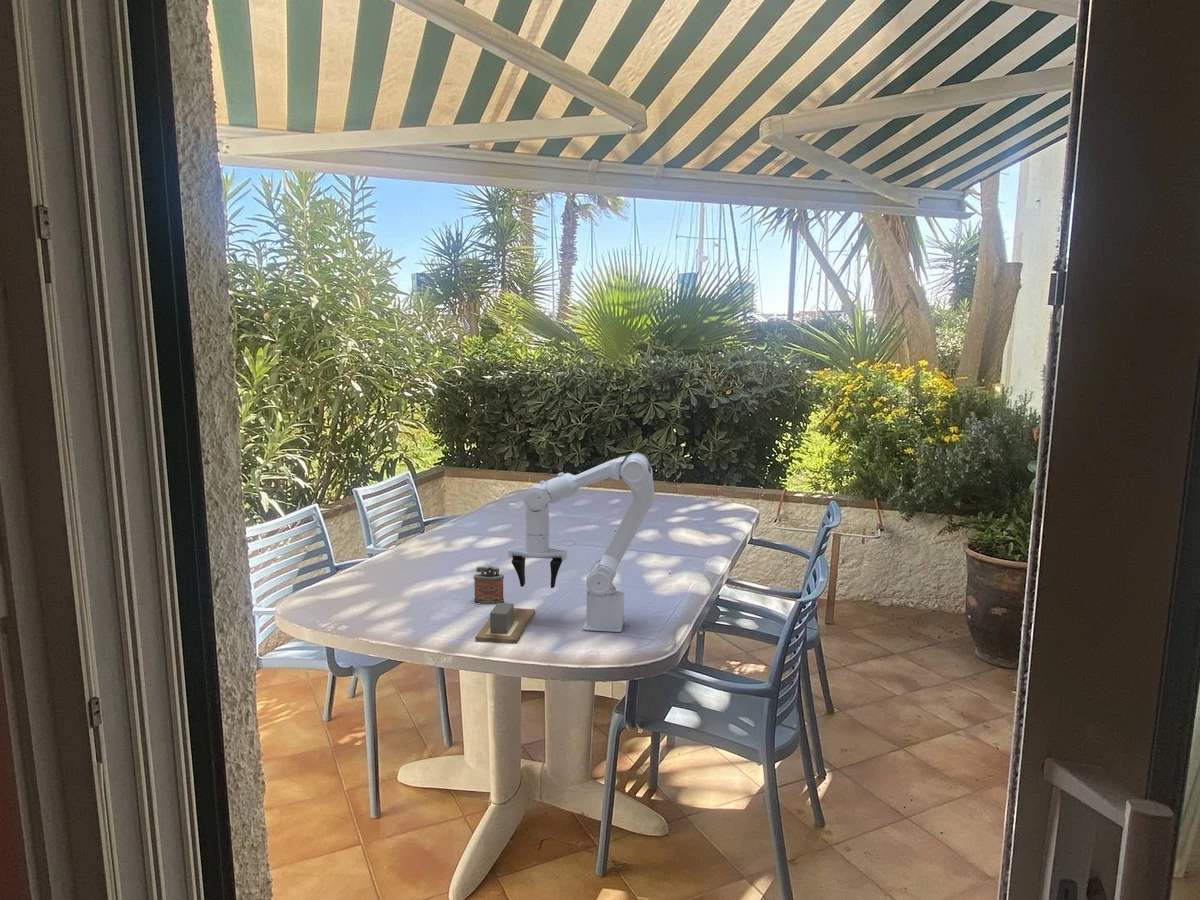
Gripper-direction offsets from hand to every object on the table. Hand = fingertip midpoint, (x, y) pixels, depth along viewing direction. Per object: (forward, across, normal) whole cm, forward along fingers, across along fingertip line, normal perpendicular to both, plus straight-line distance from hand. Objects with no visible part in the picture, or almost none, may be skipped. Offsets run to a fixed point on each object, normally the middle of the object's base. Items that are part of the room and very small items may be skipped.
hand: (537, 586), depth 182 cm
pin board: (+9, +7, +4) cm, 12 cm away
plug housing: (+8, +7, +8) cm, 14 cm away
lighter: (+10, +16, -12) cm, 22 cm away
